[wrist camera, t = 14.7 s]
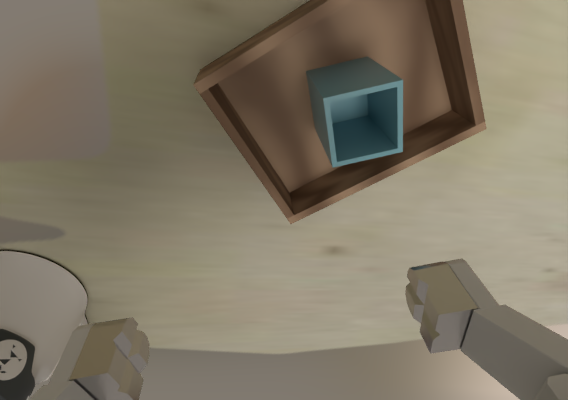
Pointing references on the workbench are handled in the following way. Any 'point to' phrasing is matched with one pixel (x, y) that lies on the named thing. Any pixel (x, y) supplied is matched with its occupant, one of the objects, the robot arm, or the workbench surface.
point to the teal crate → (357, 110)
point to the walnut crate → (332, 50)
